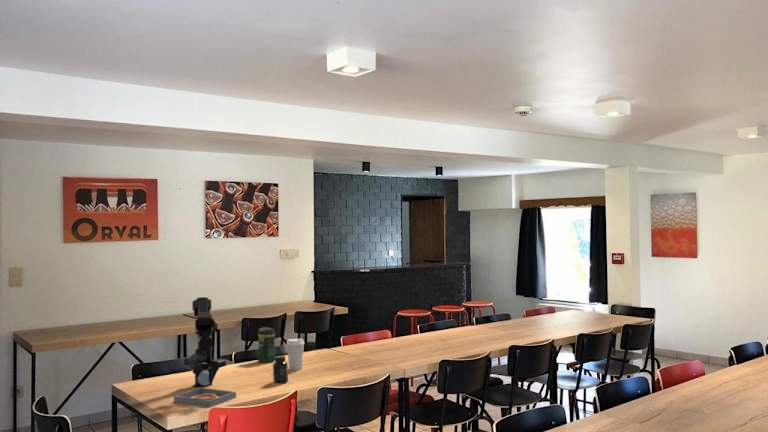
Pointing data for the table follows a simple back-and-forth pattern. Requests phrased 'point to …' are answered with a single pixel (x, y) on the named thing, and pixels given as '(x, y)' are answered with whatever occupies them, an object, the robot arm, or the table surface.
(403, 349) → the table surface
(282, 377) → the supplement bottle
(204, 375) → the ball
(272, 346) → the coffee jar
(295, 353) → the coffee cup
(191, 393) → the grey rectangular frame
